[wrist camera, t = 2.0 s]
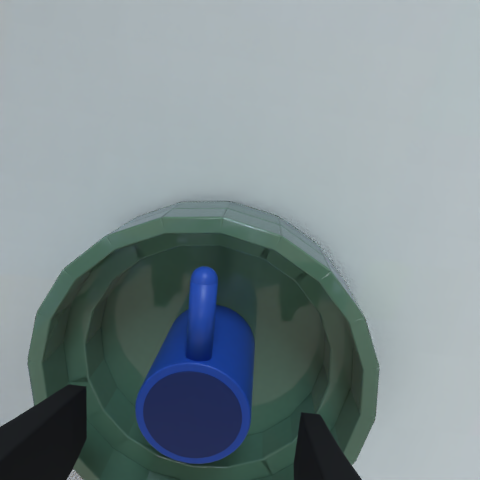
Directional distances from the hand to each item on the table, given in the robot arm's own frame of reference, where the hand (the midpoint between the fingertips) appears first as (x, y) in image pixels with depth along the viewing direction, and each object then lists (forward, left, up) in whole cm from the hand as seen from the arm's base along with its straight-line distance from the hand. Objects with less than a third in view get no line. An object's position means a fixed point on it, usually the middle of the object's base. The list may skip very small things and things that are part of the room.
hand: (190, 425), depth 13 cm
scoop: (+1, +1, -5) cm, 6 cm away
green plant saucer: (0, 0, -6) cm, 6 cm away
